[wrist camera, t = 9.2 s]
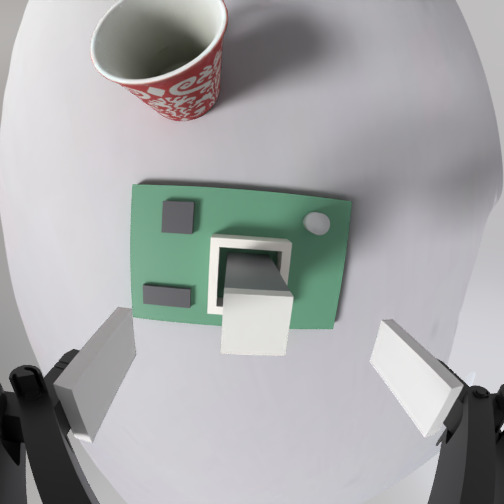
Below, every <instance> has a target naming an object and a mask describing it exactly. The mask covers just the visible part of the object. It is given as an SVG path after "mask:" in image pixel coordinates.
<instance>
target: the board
mask: <svg viewBox="0 0 504 504" xmlns="http://www.w3.org/2000/svg"><path fill="white" fill-rule="evenodd" d="M351 206H352V201H346V200H338V199H331V198H323V197H314V196H306V195H297V194H287V193H277V192H266V191H255V190H242V189H229V188H214V187H196V186H173V185H136V184H133V186H132V204H131V236H130V261H131V293H132V311H133V317H135V318H143V319H152V320H161V321H170V322H180V323H191V324H203V325H217V326H222V316H223V297H224V285H225V275H226V266H227V256H228V252H239V253H254V254H269V255H270V257H271V259H272V261H273V262H274V264H275V266H276V267H277V269H278V271H279V273H280V274H281V276H282V278H283V279H284V281H285V283H286V285H287V286H288V288H289V290H290V292H291V293H292V295H293V305H292V312H291V319H290V326H289V329H333V326H334V321H335V316H336V311H337V306H338V300H339V294H340V289H341V283H342V276H343V270H344V263H345V256H346V249H347V242H348V234H349V225H350V216H351Z"/></svg>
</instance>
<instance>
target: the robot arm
mask: <svg viewBox="0 0 504 504" xmlns="http://www.w3.org/2000/svg"><path fill="white" fill-rule="evenodd" d="M135 356H136V348H135V339H134V329H133V318H132V309H130V308H122V307H118V308H117V309H116V310H115V311H114V312H113V313H112V314H111V315H110V317H109V318H108V319H107V320H106V321H105V322H104V323H103V325H102V326H101V327H100V328H99V329H98V330H97V331H96V333H95V334H94V335H93V336H92V337H91V338H90V340H89V341H88V342H87V343H86V344H85V345H84V347H83V348H82V349H81V350H75V349H73V350H71V351H69V352H67V353H66V354H64V355H63V356H62V358H61V359H60V360H59V362H57V363H56V364H55V365H54V367H53V368H52V369H51V370H50V371H49V372H48V374H47V375H46V376H45V377H44V378H43V376H42V373H41V371H40V369H38V368H37V367H36V366H32V365H23V366H20V367H17V368H16V369H14V370H13V371H12V372H11V373H10V376H9V380H10V382H11V384H12V387H13V389H14V392H15V393H14V392H6V391H4V390H3V388H2V386H1V384H0V504H27V495H26V476H25V475H26V472H25V471H26V469H25V467H26V465H25V464H26V451H27V455H28V459H29V462H30V466H31V469H32V473H33V476H34V480H35V483H36V485H37V489H38V491H39V494H40V497H41V500H42V502H43V504H100V503H99V502H98V500H97V498H96V496H95V494H94V493H93V491H92V489H91V487H90V485H89V484H88V481H87V479H86V477H85V475H84V473H83V471H82V469H81V467H80V464H79V462H78V460H77V458H76V455H75V453H74V451H73V448H72V446H71V443H70V441H69V438H68V436H67V434H68V432H69V430H70V428H71V430H72V432H73V434H74V437H75V438H77V439H80V440H83V441H86V442H90V443H93V441H94V438H95V436H96V434H97V432H98V430H99V428H100V426H101V424H102V421H103V419H104V417H105V415H106V413H107V411H108V409H109V407H110V405H111V403H112V401H113V399H114V397H115V395H116V393H117V391H118V389H119V387H120V385H121V383H122V381H123V379H124V377H125V375H126V373H127V371H128V369H129V368H130V366H131V364H132V362H133V360H134V358H135ZM370 363H371V364H372V366H373V367H374V368H375V370H376V371H377V372H378V374H379V375H380V376H381V378H382V379H383V380H384V382H385V383H386V385H387V386H388V387H389V389H390V390H391V391H392V393H393V394H394V396H395V397H396V398H397V400H398V401H399V402H400V404H401V405H402V407H403V408H404V409H405V411H406V412H407V414H408V415H409V416H410V418H411V419H412V421H413V422H414V423H415V425H416V426H417V428H418V429H419V430H420V432H421V433H422V435H423V436H424V438H425V437H428V436H431V435H433V434H436V433H437V432H438V431H439V429H440V428H441V426H442V424H444V425H445V426H446V427H447V428H446V429H445V431H444V432H443V434H442V435H441V437H440V439H439V440H438V442H437V443H436V446H438V444H439V443H440V442H441V441H442V444H441V450H440V456H439V460H438V465H437V470H436V474H435V479H434V483H433V486H432V490H431V494H430V497H429V501H428V504H504V430H503V432H501V430H500V428H501V427H502V425H503V423H504V384H503V385H501V387H500V389H499V391H498V393H495V394H490V392H488V391H487V389H485V388H483V387H480V386H471V387H469V386H468V385H467V384H466V383H465V382H464V381H463V380H461V379H460V378H459V377H458V376H457V375H456V374H455V373H454V372H453V371H452V370H451V369H449V367H448V366H447V365H446V364H445V363H443V362H442V361H440V360H438V359H436V358H435V357H434V356H433V355H432V354H431V353H429V352H428V351H427V350H426V349H425V348H424V347H423V346H422V345H421V344H420V343H418V342H417V341H416V340H415V339H414V338H413V337H412V336H411V335H410V334H409V333H407V332H406V331H405V330H404V329H403V328H402V327H401V326H400V325H398V324H397V323H396V322H395V321H394V320H393V319H390V320H381V324H380V328H379V331H378V335H377V339H376V342H375V346H374V349H373V352H372V356H371V359H370Z"/></svg>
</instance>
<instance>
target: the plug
mask: <svg viewBox="0 0 504 504" xmlns="http://www.w3.org/2000/svg"><path fill="white" fill-rule="evenodd" d="M292 305H293V295H292V293H291V292H290V290H289V288H288V286H287V285H286V283H285V281H284V279H283V278H282V276H281V274H280V273H279V271H278V269H277V267H276V266H275V264H274V262H273V261H272V259H271V257H270V255H269V254H254V253H239V252H228V256H227V266H226V275H225V285H224V297H223V316H222V337H221V353H222V354H240V355H269V356H285V352H286V346H287V339H288V333H289V326H290V319H291V312H292Z"/></svg>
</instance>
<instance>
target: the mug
mask: <svg viewBox="0 0 504 504" xmlns="http://www.w3.org/2000/svg"><path fill="white" fill-rule="evenodd" d="M227 22H228V12H227V8H226V5H225V3H224V1H223V0H119V1H118V2H116V3H115V4H114V5H113V6H112V7H111V8H110V9H109V10H108V11H107V12H106V13H105V14H104V15H103V17H102V18H101V20H100V21H99V23H98V24H97V26H96V28H95V30H94V33H93V36H92V39H91V45H90V54H91V59H92V62H93V64H94V66H95V68H96V69H97V71H98V72H99V73H100V74H101V75H102V76H103V77H105V78H106V79H108V80H111V81H113V82H116V83H119V84H120V85H121V86H123V87H124V88H125V89H127V90H128V91H130V92H131V93H132V94H134V95H136V96H137V97H138V98H139V99H141V100H142V101H143V102H145V103H146V104H148V105H149V106H150V107H152V108H153V109H154V110H156V111H157V112H158V113H160V114H161V115H162V116H164V117H166V118H168V119H171V120H175V121H188V120H193V119H196V118H198V117H200V116H202V115H204V114H205V113H206V112H208V111H209V110H210V109H211V108H212V107H213V105H214V104H215V102H216V100H217V98H218V96H219V92H220V76H221V58H222V46H223V35H224V33H225V31H226V27H227Z"/></svg>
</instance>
